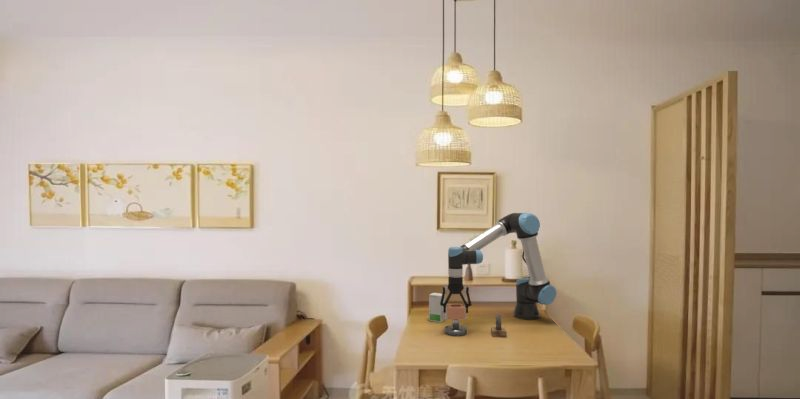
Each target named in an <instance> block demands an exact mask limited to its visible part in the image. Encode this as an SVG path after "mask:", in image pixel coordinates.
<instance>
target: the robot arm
mask: <svg viewBox="0 0 800 399" xmlns="http://www.w3.org/2000/svg"><path fill="white" fill-rule="evenodd" d="M540 227H541V223H540V220H539V217H538V216H536V215H535V214H533V213H529V212H513V213H509V214H507V215H505V216H503V217H502V218H500V219H498V220H497V221H496V222H495V223H494V225H492V226H491V227H489V228H487V229H486V230H484V231H483V232H481V233H480V234H478V235H477V236H475V237H474V238H472V239H470V240H469V241H467V242H465V243H464V244H462V245H461V246H451V247H449V248H448V250H447V252H448V253H447V254H448V255H447V257H448V258H447V262H448V270H447V273H448V274H447V275H448V279H447V280H448V283H447V284H448V285H447V286H442V293H441V294H442V297H441V302H440V305H441V306H443V307H444V313H445V321H447V320H448V319H447V304H449V303H448V302H449V301H450V299H451V297H452V296H453V295H459V296H460V298H461V300H462V302H463V304H464V306H465V319H463V320H464V321H466V320H467V314H468V313H469V307H471V306H472V302H471V298H470V294H469V286H464V284H463V283H464V282H463V281H464V280H463V279H464V278H463V274H464V273H463V272H464V270H463V268H464V267H463V266H464V265H479V264H481V263H483V260H484V254H483V252H482V249H483V248H485V247H487V246H488V245H489V244H491V243H492V242H494V241H496V240H498V239H499V238H501V237H502V236H503V237H505V236H507V235H509V234H513V233H515V234H516V237H517V239H518V240H519V241H520V242H521V247H522V250H523V254H524V259H525V263H526V267H527V271H528V275H529V277H526V278H523V277H522V278H517V279H516V281H515V282H516V283H515V289H516V290H515V291H516V292H515V293H516V294H515V296H516V298H515V299H516V301H515V303H516V304H515V306H514V310H513V317H515V318H517V319H521V320H537V319H540V311H539V309H538V305H537V304H540V305H544V306H550V305H551V304H552V303H554V301H555V299H556V298H557V289H556V287H555V286H554V285H552V284H551V283H550V278H548V277H547V276H546V272H545V269H544V264H543V260H542V256H541V252H540V249H539V244H538V240H537V237H538V236H539V230H540ZM447 290H448V291H449V292H448V295H447V296H446V300H445V302H444V303H443V300H444V296H445V294H446V292H447ZM463 290H464V291H465V294H466V298H467V301H466V299H465V296H464V295H463V293H462V291H463Z"/></svg>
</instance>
